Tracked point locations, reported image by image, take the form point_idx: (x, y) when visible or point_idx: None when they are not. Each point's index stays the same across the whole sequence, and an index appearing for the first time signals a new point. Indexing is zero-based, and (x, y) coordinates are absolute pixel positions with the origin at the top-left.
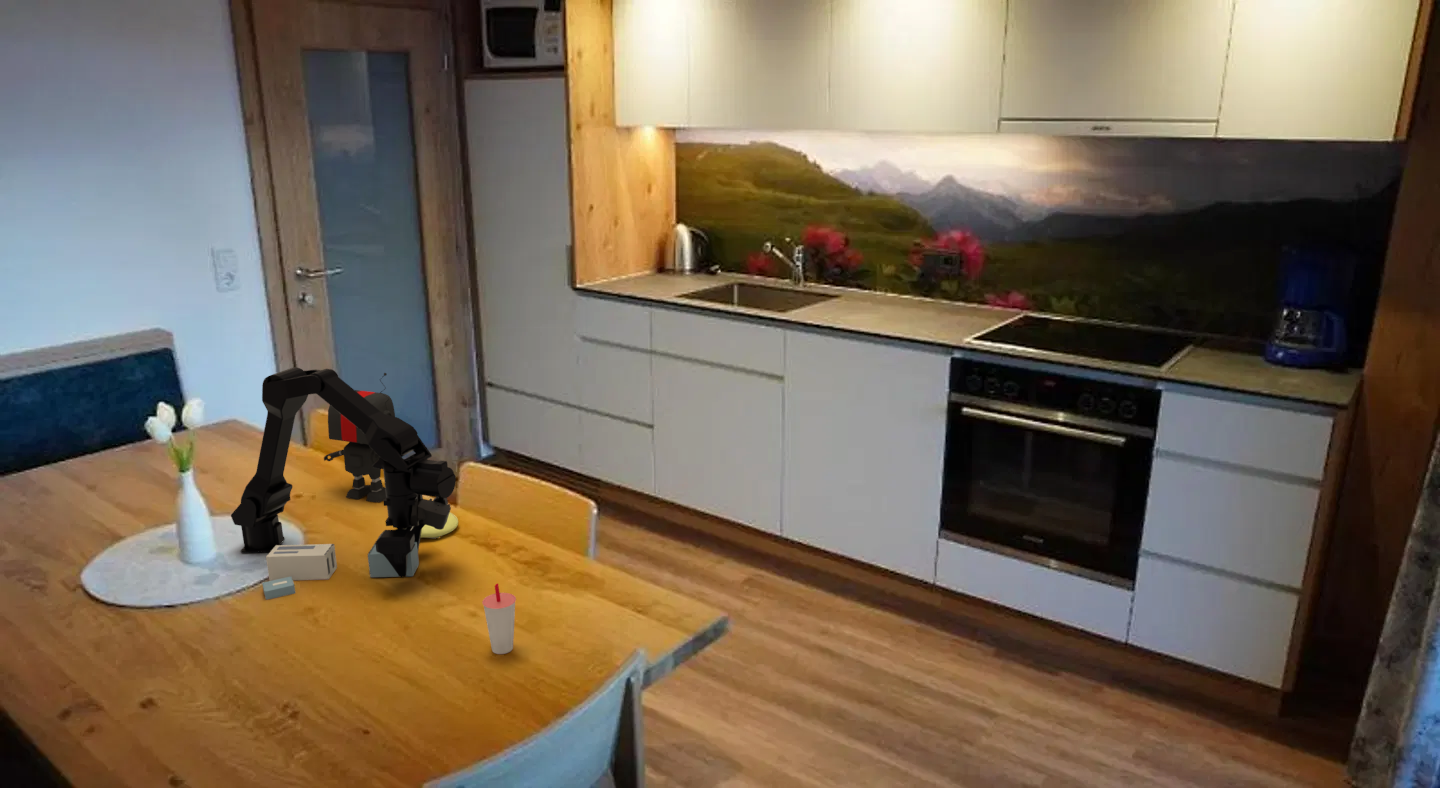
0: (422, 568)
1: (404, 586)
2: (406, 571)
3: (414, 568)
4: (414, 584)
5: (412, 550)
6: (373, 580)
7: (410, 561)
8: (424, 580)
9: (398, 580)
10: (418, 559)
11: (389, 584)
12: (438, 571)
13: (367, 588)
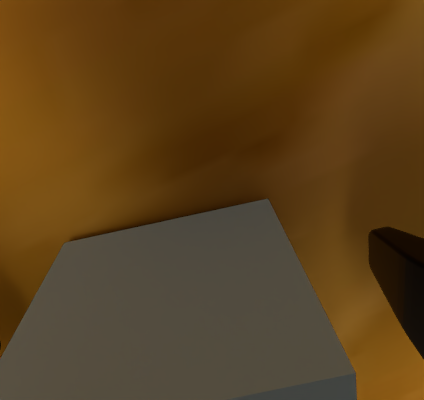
0: (106, 191)
1: (412, 187)
2: (397, 245)
3: (205, 229)
4: (385, 129)
5: (232, 389)
6: None
7: (313, 289)
8: (314, 76)
9: (318, 264)
10: (50, 269)
11: (374, 288)
12: (122, 19)
13: (415, 365)
